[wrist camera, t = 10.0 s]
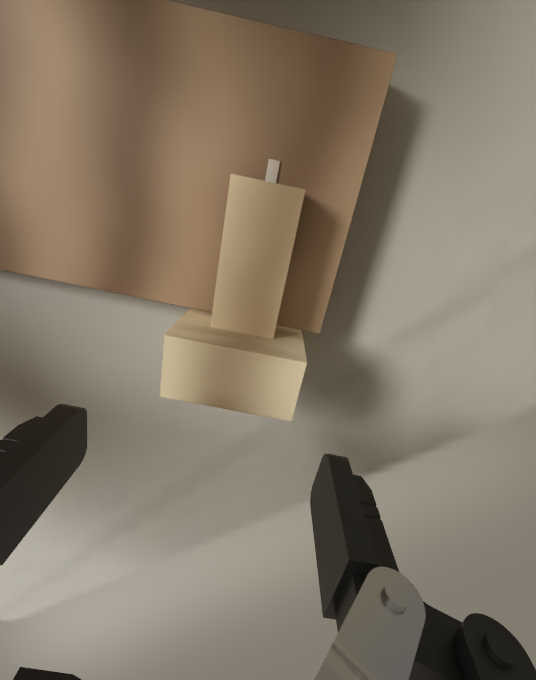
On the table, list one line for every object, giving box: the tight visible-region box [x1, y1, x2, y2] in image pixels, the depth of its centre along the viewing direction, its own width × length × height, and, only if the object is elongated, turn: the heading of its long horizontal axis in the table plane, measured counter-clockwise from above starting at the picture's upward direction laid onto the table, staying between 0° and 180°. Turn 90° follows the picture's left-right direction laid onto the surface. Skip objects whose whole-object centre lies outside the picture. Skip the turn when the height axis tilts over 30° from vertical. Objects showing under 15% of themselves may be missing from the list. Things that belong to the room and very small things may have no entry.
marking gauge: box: [160, 174, 307, 421], centre depth 16 cm, size 6×10×6 cm, turn 169°
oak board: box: [0, 0, 397, 334], centre depth 16 cm, size 22×12×3 cm, turn 79°
